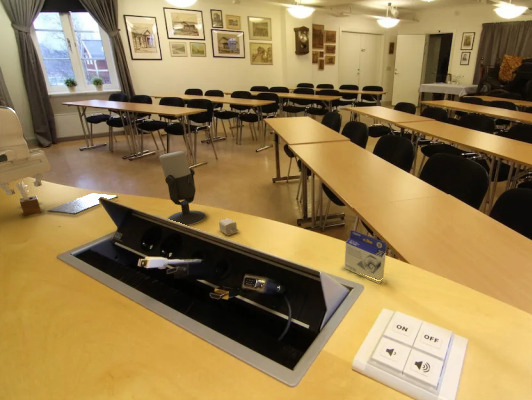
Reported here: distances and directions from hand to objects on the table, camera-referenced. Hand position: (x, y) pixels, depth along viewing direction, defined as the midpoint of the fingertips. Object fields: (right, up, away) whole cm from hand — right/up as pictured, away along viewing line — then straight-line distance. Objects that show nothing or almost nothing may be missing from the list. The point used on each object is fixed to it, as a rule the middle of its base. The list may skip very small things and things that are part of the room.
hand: (25, 190), depth 117 cm
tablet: (+13, -6, +12) cm, 19 cm away
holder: (0, -9, +3) cm, 10 cm away
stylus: (0, -8, +3) cm, 9 cm away
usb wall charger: (+78, -15, -9) cm, 80 cm away
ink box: (+120, -24, -30) cm, 126 cm away
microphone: (+59, -11, +2) cm, 60 cm away
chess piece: (-8, -6, +11) cm, 15 cm away
